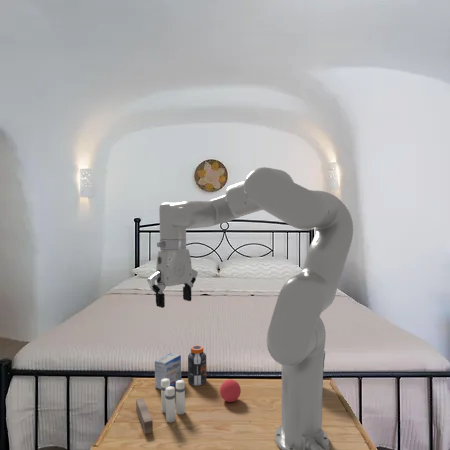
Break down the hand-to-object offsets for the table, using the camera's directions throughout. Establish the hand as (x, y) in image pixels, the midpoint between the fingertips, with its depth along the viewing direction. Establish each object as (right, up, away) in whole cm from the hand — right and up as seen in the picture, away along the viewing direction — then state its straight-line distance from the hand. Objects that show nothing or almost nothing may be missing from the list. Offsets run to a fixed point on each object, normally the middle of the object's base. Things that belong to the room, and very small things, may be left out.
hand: (174, 303), depth 109 cm
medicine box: (-3, -28, +10) cm, 30 cm away
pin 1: (-2, -29, -5) cm, 29 cm away
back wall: (-7, -29, -10) cm, 31 cm away
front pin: (+3, -29, -6) cm, 29 cm away
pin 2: (0, -29, -10) cm, 30 cm away
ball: (+16, -25, -1) cm, 30 cm away
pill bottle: (+6, -28, +11) cm, 31 cm away
